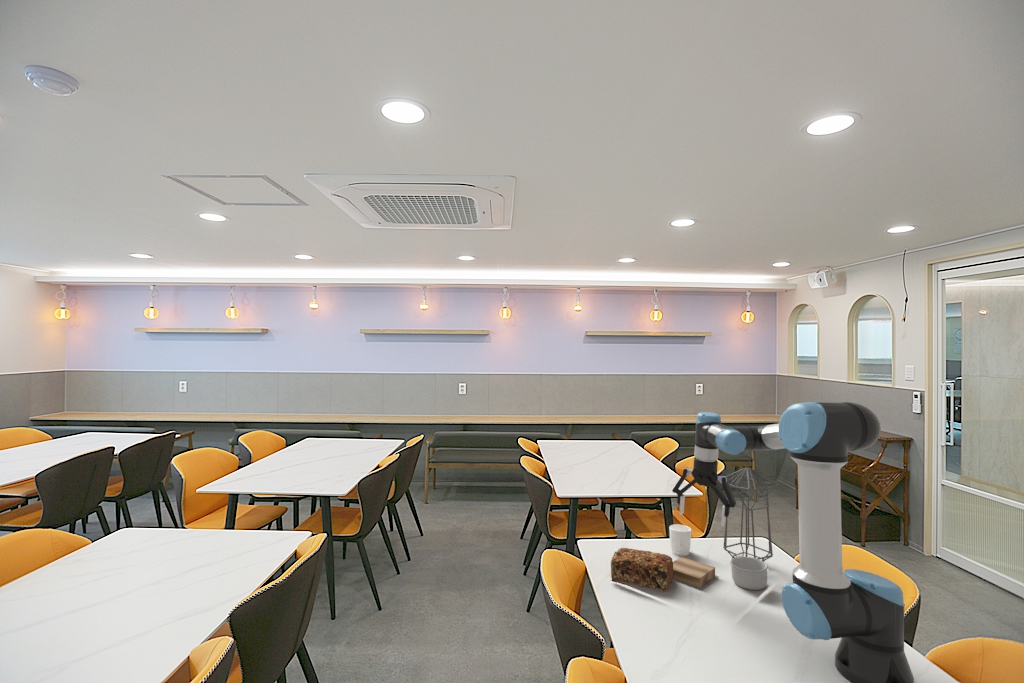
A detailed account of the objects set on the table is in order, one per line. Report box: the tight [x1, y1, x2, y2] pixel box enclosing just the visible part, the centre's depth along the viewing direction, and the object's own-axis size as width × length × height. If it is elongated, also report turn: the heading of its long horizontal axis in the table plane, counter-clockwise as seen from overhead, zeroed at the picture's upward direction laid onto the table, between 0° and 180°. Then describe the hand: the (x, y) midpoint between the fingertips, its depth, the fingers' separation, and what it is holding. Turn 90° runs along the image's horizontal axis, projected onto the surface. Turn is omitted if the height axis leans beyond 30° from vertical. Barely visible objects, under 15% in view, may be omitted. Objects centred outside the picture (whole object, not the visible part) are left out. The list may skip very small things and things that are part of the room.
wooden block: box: [673, 556, 716, 588], centre depth 165 cm, size 12×12×3 cm
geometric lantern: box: [717, 466, 780, 563], centre depth 178 cm, size 16×16×35 cm
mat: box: [672, 574, 720, 591], centre depth 165 cm, size 14×14×1 cm
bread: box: [610, 547, 674, 592], centre depth 163 cm, size 19×11×10 cm, turn 60°
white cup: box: [668, 523, 692, 557], centre depth 186 cm, size 8×8×10 cm
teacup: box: [730, 554, 768, 591], centre depth 162 cm, size 14×11×8 cm
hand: (701, 519), depth 167 cm, fingers open, 13 cm apart
